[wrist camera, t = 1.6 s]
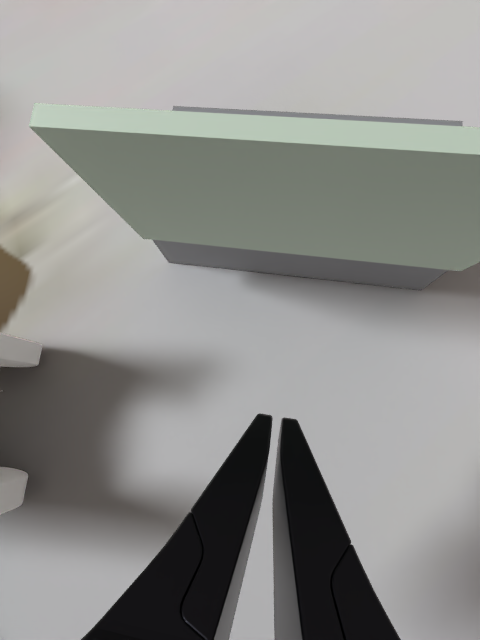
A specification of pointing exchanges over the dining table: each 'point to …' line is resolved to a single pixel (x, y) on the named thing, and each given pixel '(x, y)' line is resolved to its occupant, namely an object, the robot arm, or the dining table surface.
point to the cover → (280, 181)
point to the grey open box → (303, 263)
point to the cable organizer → (8, 351)
